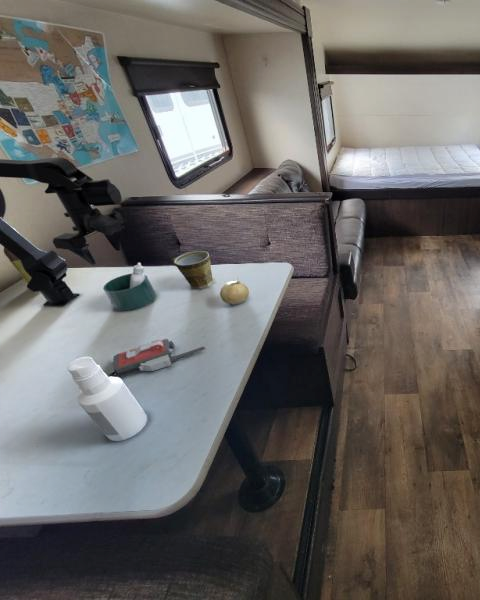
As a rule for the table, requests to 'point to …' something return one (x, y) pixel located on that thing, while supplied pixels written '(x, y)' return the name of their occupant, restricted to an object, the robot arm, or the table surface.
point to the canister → (129, 293)
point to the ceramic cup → (195, 268)
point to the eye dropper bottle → (137, 275)
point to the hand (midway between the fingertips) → (106, 257)
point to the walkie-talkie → (147, 358)
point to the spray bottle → (107, 400)
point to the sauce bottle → (17, 265)
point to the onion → (234, 292)
